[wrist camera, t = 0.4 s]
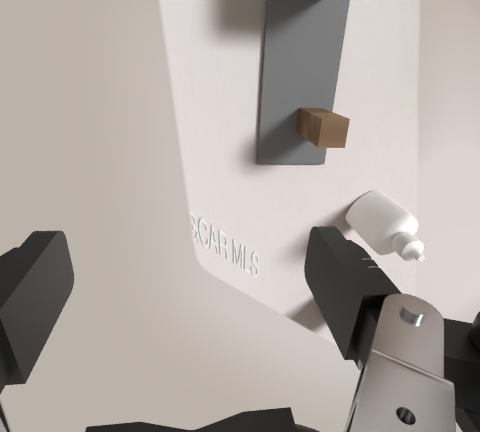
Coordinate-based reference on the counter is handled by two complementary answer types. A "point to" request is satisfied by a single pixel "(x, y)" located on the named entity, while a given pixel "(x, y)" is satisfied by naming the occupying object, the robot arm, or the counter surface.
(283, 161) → the mat
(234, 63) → the counter surface
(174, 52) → the counter surface
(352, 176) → the counter surface
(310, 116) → the post
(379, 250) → the eye dropper bottle
